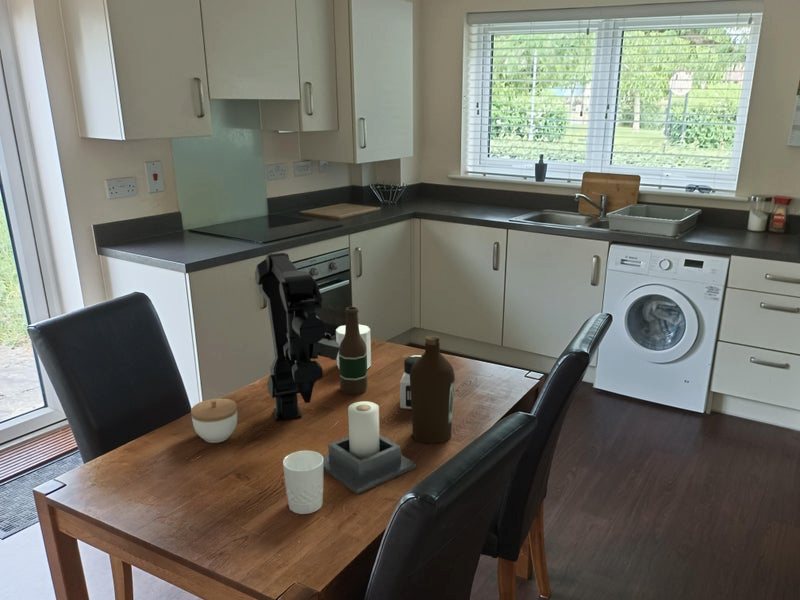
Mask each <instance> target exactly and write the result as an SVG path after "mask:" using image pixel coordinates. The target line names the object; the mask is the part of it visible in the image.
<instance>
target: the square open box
mask: <svg viewBox="0 0 800 600" xmlns="http://www.w3.org/2000/svg"><path fill="white" fill-rule="evenodd" d="M327 447H328V454H326V455H322V456H323V472H324V471H325V473H328V475H330V476H331V477H333V478H334V479H335V480H337V481H338V482H340V483H341V484H343V485H344V486H345V487H346V488H348V489H350V490H351V491H352V492H354V493H355V494H356V495H359V494H361V493H363V492H366V491H368V490H370V489H372V488H374V487H377V486H378V485H381V484H382V483H385V482H387V481H390V480H392V479H394V478H396V477H398V476H400V475H403V474H405V473H407V472H410V471H411V470H414V469H416V468H417V463H416V462H414V461H412V460H410V459H409V458H407V457H405V456H404V455H402V446H400V445H399V444H398V443H395V442H393V441H392V440H390V439H389V438H387V437H386V436H383V435H381V434H380V433H379V447H380V452H379V453H376V454H374V455H372V456H369V457H367V458H364V459H362V460H359V459H358V458H356V457H355V456H353V455H352V454H350V448H349V435H348V436H345V437H344V438H341V439H338V440H335V441H333V442H330V443H328V446H327Z"/></svg>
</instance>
